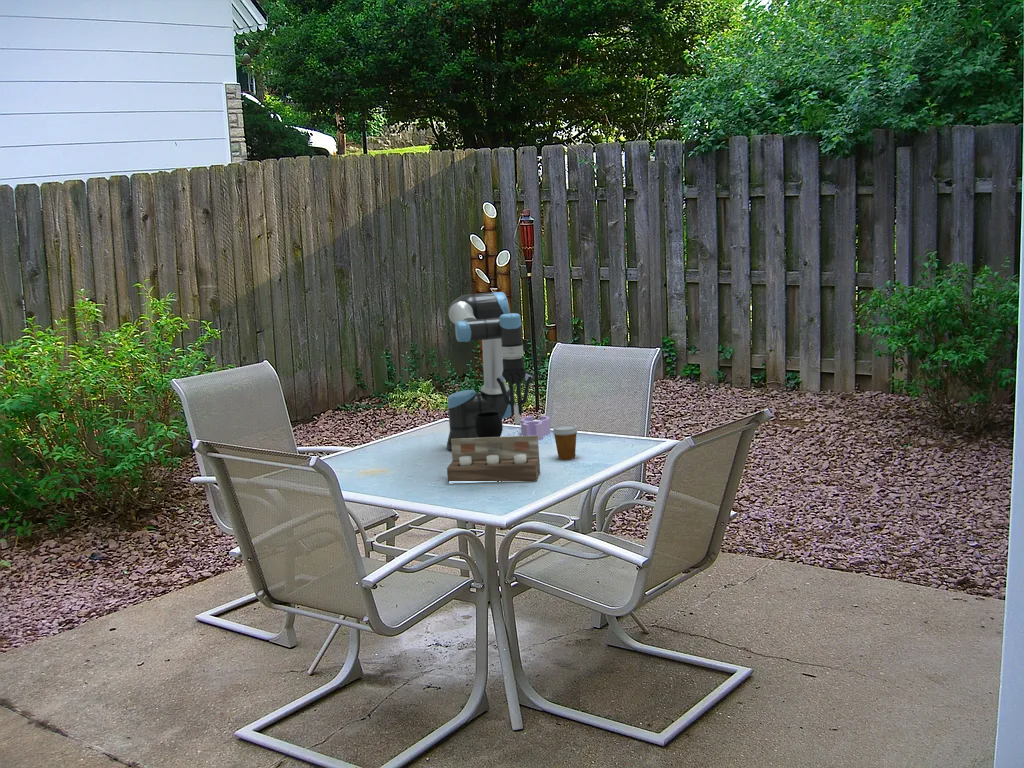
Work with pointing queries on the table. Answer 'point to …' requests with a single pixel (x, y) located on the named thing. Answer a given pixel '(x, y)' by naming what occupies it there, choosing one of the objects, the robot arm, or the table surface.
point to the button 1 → (465, 461)
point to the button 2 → (520, 459)
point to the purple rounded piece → (535, 426)
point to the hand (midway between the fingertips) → (517, 422)
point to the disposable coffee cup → (565, 441)
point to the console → (506, 452)
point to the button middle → (492, 460)
